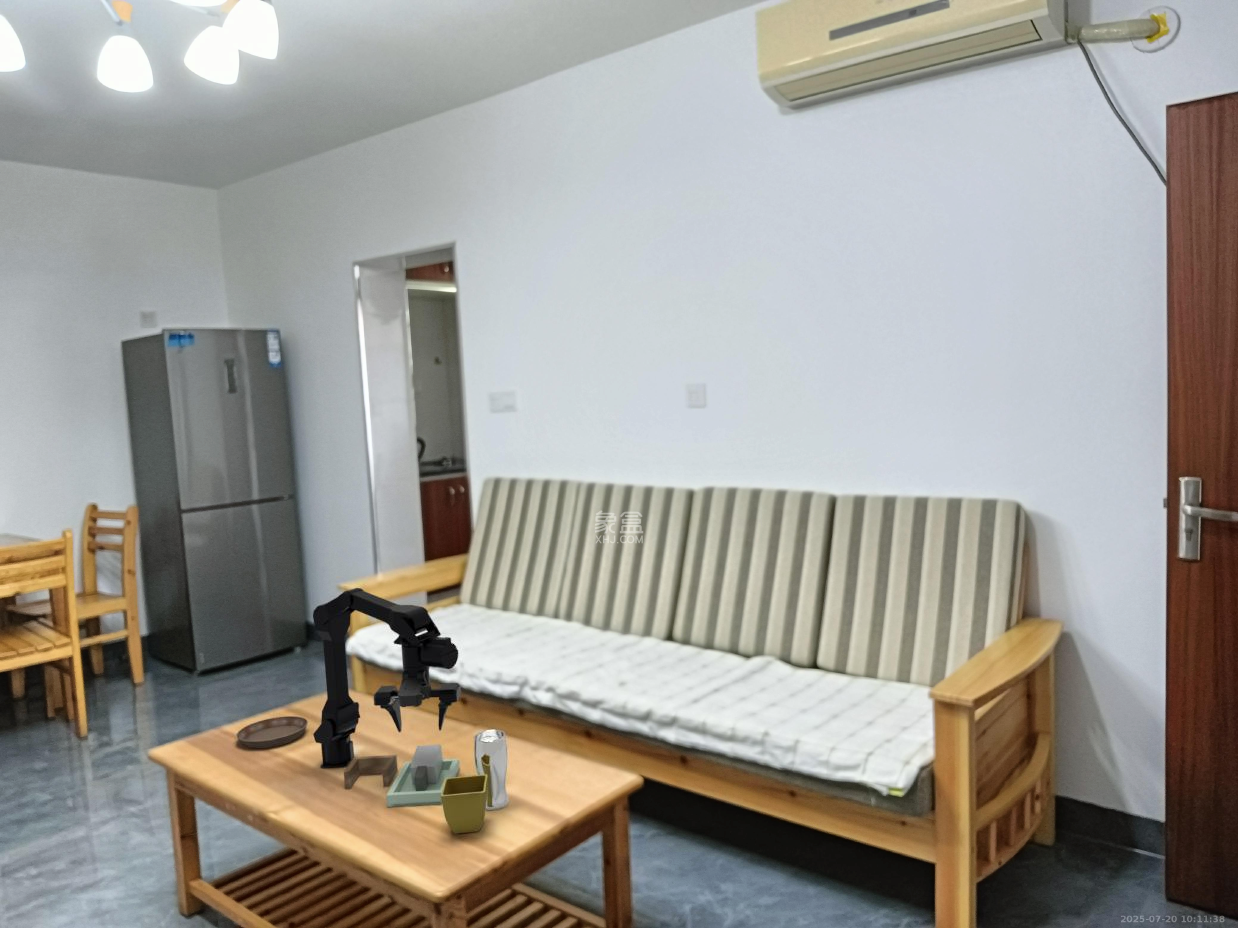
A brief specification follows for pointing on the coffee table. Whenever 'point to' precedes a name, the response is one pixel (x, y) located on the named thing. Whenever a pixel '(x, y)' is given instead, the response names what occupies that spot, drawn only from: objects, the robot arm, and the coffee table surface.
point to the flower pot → (464, 802)
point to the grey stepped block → (426, 766)
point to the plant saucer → (272, 731)
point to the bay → (371, 769)
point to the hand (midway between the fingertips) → (420, 730)
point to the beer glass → (492, 765)
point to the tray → (408, 796)
